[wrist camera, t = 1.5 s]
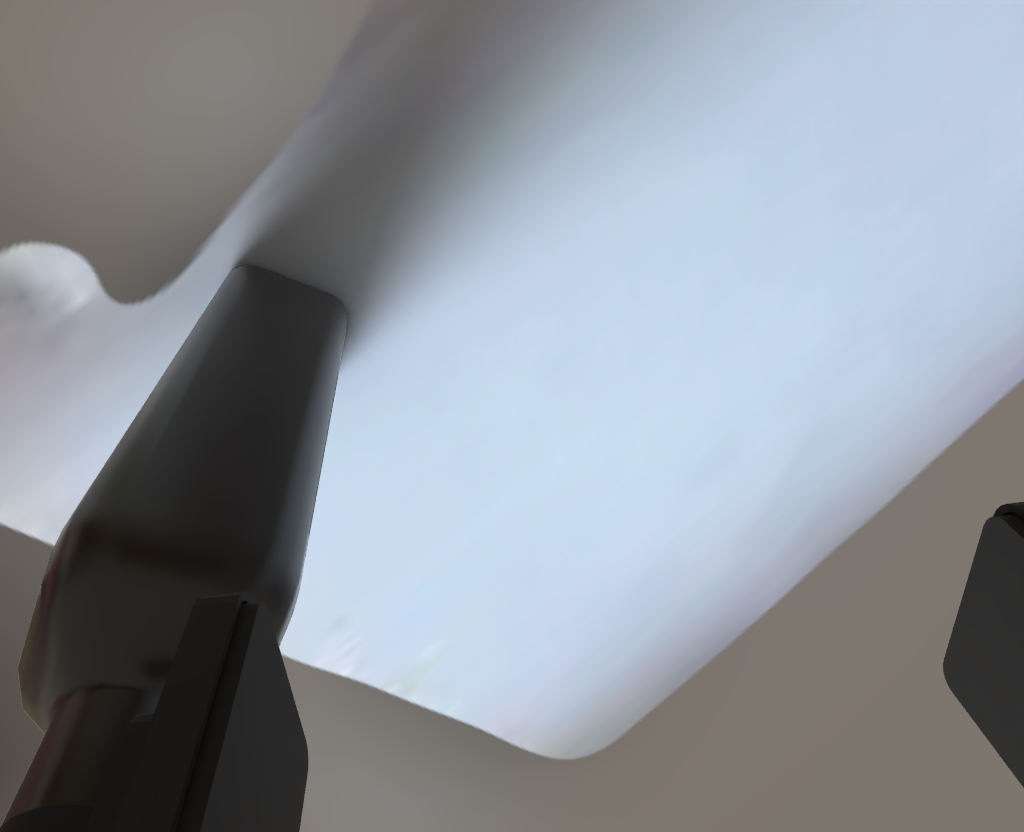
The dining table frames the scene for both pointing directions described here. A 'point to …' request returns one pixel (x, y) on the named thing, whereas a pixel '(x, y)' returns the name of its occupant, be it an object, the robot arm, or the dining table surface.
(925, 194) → the dining table surface
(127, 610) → the wine bottle
